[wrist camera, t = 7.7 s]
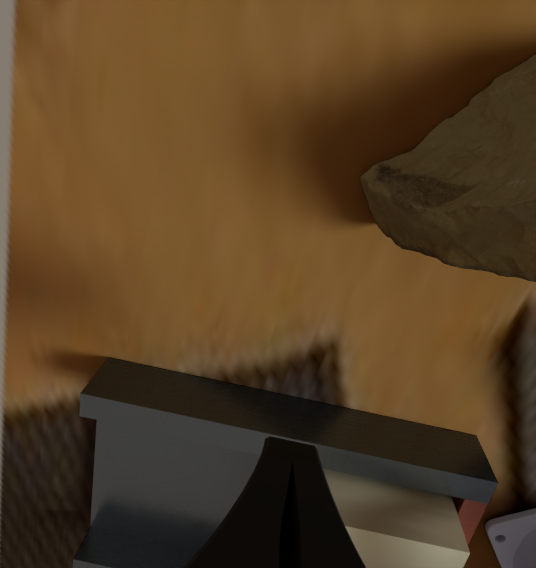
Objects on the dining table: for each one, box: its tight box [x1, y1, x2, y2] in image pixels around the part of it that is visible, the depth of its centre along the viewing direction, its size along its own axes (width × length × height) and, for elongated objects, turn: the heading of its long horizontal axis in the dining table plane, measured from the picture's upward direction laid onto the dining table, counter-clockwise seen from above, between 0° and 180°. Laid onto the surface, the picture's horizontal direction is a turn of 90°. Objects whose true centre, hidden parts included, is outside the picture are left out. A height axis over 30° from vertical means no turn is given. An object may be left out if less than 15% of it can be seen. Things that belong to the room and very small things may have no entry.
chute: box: [73, 358, 498, 568], centre depth 24 cm, size 18×11×3 cm, turn 79°
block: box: [323, 469, 470, 568], centre depth 22 cm, size 6×8×4 cm
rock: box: [361, 54, 536, 282], centre depth 15 cm, size 11×9×10 cm
